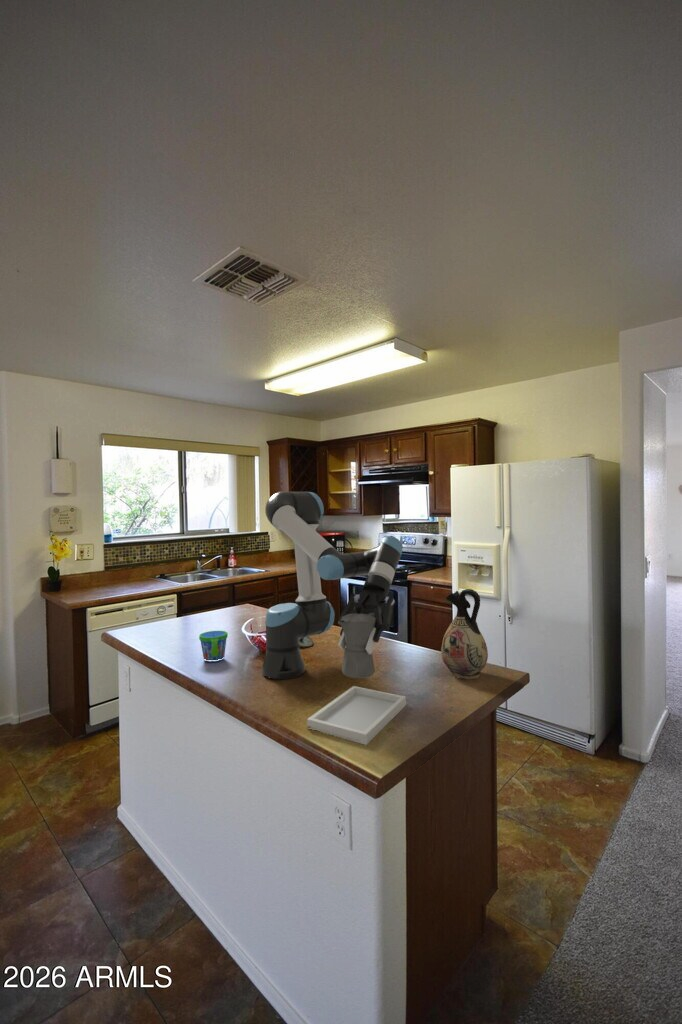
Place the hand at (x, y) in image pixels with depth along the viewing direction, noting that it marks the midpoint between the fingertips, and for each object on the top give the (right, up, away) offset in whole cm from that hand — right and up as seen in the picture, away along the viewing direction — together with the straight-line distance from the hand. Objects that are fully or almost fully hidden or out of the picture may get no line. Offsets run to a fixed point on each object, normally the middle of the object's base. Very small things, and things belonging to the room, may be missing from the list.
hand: (354, 649), depth 123 cm
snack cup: (-53, -21, +54) cm, 78 cm away
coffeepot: (+2, -7, +3) cm, 8 cm away
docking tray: (+1, -20, +4) cm, 20 cm away
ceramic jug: (+39, -19, +33) cm, 54 cm away
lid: (-20, -20, +71) cm, 77 cm away
